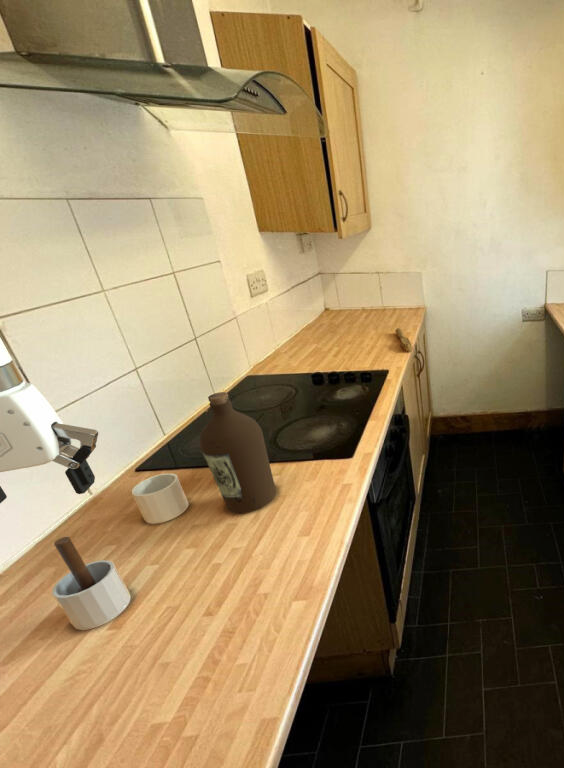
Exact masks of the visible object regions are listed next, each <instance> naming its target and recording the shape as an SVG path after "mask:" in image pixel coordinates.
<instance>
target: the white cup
mask: <svg viewBox="0 0 564 768" xmlns="http://www.w3.org/2000/svg"><path fill="white" fill-rule="evenodd" d="M131 495H132V497H133V499H134V501H135V503H136V505H137V508H138V509H139V512H140V514H141V516H142V518H143V520H144V521H145V522H146V523H147V524H151V525H152V524H153V525H156V524H162V523H166V522H168V521H171V520H173V519H175V518H177V517H178V516H181V515H182V514H183V513H184V512H185V511H186V510H187V509H188V508H189V500H188V499H187V495H186V493H185V491H184V488H183V486H182V483H181V482H180V479H179V477H178V475H177V474H176V473H171V472H170V473H167V472H166V473H161V474H160V473H159V474H156V475H153V476H151V477H148V478H146V479H143V480H141V481H140V482H138V483H137V484H136V485H135V486H134V487H133V488H132V489H131Z"/></svg>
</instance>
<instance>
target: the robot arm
mask: <svg viewBox="0 0 564 768" xmlns="http://www.w3.org/2000/svg"><path fill="white" fill-rule="evenodd" d="M98 436H99V431H98V430H97V429H94V428H88V427H87V428H86V427H81V426H76V425H71V424H66V423H65V424H64V422H63V421H62V420H61V418H60V416H59V415H58V414H57V412H56V410H55V409H54V407H53V406H52V405H51V404H50V402H49V401H48V400H47V399H46V398H45V396H44V395H43V394H42V393H41V391H40V390H39V389H38V388H37V387H36V386H35V385H33V383H31V382H25V380H24V378H23V377H22V374H21V373H20V371H19V369H18V367H17V365H16V364H15V361H14V360H13V358H12V356H11V354H10V353H9V351H8V349H7V347H6V345H5V343H4V341H3V340H2V338H1V337H0V473H4V472H10V471H16V470H22V469H26V468H27V469H28V468H33V467H38V466H42V465H46V464H49V463H52V462H54V463H57V464H59V465H60V466H63V467H66V468H67V469H66V470H65V472H64V473H65V474H64V475H65V476H66V477H67V479H68V481H69V483H70V485H71V487H72V488H73V490H74V492H75V494H77V495H81V494H82V495H83V494H86V492H87V491H88V490H89V489H90V488H91V487H92V486H93V484H95V480H96V476H95V474H94V472H93V470H92V469H91V467H90V464H89V462H88V461H87V459H88V458H89V457H90V455H91V454H92V453H93V451H94V450H95V449H96V447H97V441H98ZM72 440H76V441H79V442H80V444H79V447H78V446H75V445H73V444H72ZM7 498H8V496H7V494H6V493H5V491H4V489H3V488H2V486H1V485H0V504H2V503H3V502H4V501H5V500H6V499H7Z"/></svg>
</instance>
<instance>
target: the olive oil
mask: <svg viewBox="0 0 564 768" xmlns="http://www.w3.org/2000/svg"><path fill="white" fill-rule="evenodd" d="M207 399H208V402H209V406H210V409H211V413H212V416H211V417H210V419H209V420H208V422H207V423H206V424H205V426H204V427H203V429H202V430H201V433H200V435H199V447H200V450H201V453H202V455H203V458H204V460H205V462H206V463H207V466H208V468H209V471H210V472H211V475H212V476H213V479H214V481H215V484H216V486H217V488H218V490H219V492H220V495H221V497H222V501H223V502H224V505H225V507H226V510H228V512H231V513H233V514H247V513H252V512H255V511H257V510H260V509H261V508H264V507H265V506H267V505H268V504H270V503H271V502H272V501H273V500H274V498H276V495H277V488H276V483H275V481H274V476H273V473H272V469H271V464H270V460H269V455H268V451H267V447H266V443H265V438H264V433H263V430H262V428H261V426H260V424H259V423H258V422H257V421H256V420H255V419H254V418H252V417H251V416H249V415H247V414H244V413H242V412H239V411H237V410H235V409H234V408H233V405H232V401H231V398H229V393H228V392H226V391H218V392H215V393H212V394H210V395H209V396H207Z"/></svg>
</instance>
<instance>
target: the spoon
mask: <svg viewBox="0 0 564 768" xmlns="http://www.w3.org/2000/svg"><path fill="white" fill-rule="evenodd" d="M53 545H54V547H55V549H56V550H57V552H58V553H59V555H60V557H61V558H62V560H63V562H64V563H65V564H66V566H67V568H68V570H69V572H71V573H72V575H73V576H74V578H75V580H76V581H77V583H78V584H79V586H80V588H81V589H79V590H78V592H77V593H79V592H81V591H84V590H86V589H88V588H90V587H92V586H93V585H95V584H96V582H95V580H94V579H93V577H92V575H91V574H90V572H89V570H88V568H87V567H86V563H85V562H84V560H83V558H82V556H81V555H80V553H79V552H78V549H77V548H76V546H75V545H74V543H73V541H72V540H71V538H70V536H63V537H61V538H57V539H56V540H55V541H54V542H53Z"/></svg>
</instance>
